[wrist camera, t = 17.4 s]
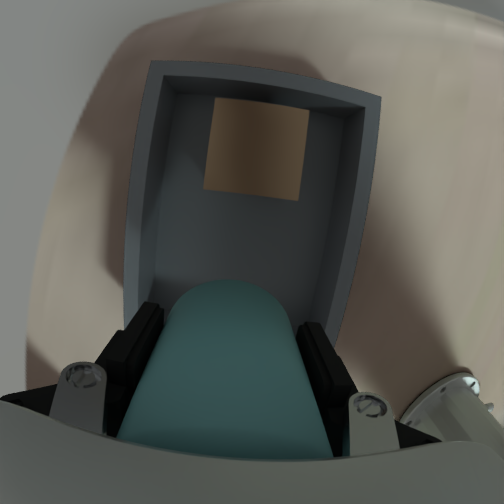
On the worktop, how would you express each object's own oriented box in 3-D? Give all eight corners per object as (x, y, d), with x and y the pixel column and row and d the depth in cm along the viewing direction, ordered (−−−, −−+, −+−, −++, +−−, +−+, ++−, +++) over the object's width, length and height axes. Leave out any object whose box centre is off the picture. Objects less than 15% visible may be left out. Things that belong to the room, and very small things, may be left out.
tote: (169, 84, 19) (151, 60, 14) (353, 112, 20) (381, 97, 15) (145, 311, 23) (124, 341, 18) (313, 332, 24) (328, 366, 19)
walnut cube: (293, 126, 19) (309, 110, 14) (284, 196, 20) (298, 201, 16) (221, 116, 19) (215, 97, 14) (212, 187, 20) (203, 189, 15)
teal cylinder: (256, 398, 12) (268, 536, 6) (151, 359, 12) (98, 495, 5) (314, 310, 11) (385, 451, 5) (193, 257, 11) (130, 384, 4)
